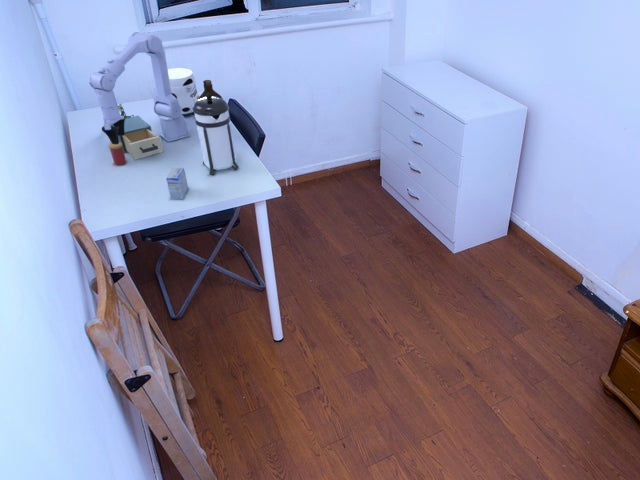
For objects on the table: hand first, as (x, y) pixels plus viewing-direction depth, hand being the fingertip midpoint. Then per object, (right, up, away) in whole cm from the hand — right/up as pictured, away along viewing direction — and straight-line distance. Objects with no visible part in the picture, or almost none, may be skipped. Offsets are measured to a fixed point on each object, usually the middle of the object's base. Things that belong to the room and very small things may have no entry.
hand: (118, 139), depth 211 cm
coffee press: (+36, -9, +7) cm, 38 cm away
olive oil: (+28, +6, +27) cm, 40 cm away
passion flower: (-16, +12, +34) cm, 39 cm away
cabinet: (-4, +2, +20) cm, 21 cm away
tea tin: (-2, -8, +6) cm, 10 cm away
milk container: (+5, +22, +49) cm, 54 cm away
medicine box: (+28, -22, -11) cm, 37 cm away
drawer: (+4, -3, +12) cm, 13 cm away
